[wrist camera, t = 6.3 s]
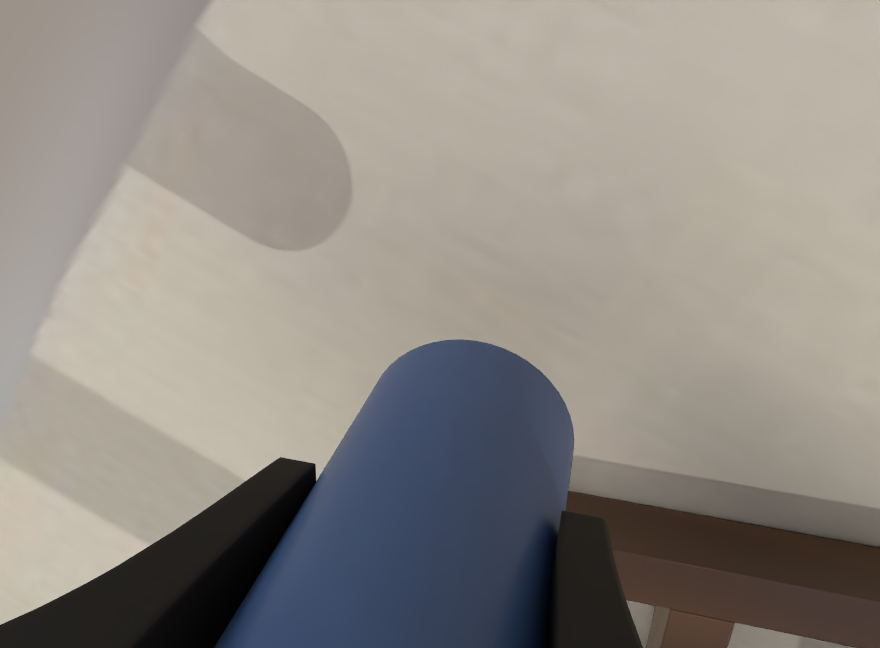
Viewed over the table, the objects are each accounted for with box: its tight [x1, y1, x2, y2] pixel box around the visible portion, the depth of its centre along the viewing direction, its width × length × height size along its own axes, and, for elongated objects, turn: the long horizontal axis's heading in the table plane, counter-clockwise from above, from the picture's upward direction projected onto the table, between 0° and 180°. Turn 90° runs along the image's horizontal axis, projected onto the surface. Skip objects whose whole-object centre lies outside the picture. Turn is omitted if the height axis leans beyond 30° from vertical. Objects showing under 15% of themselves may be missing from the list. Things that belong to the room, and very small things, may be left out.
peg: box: [214, 340, 574, 648], centre depth 11 cm, size 4×4×8 cm
